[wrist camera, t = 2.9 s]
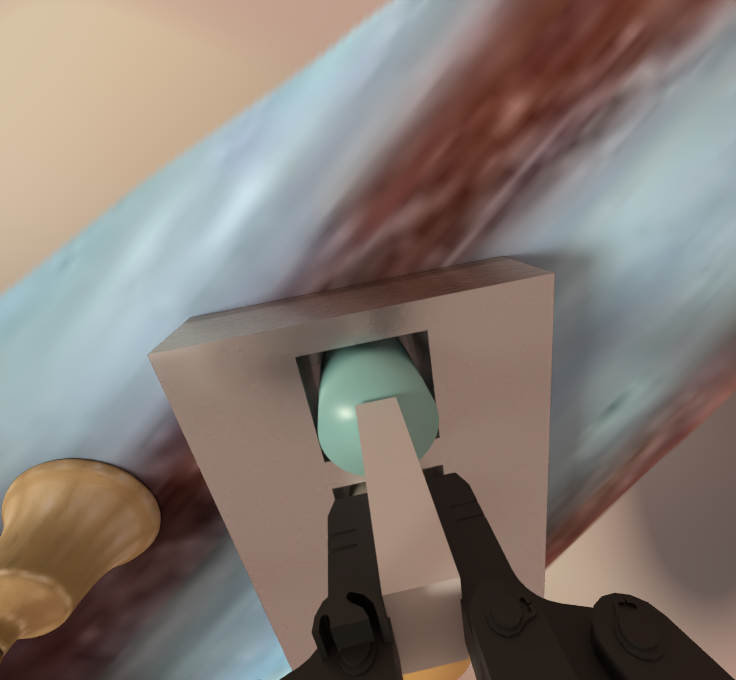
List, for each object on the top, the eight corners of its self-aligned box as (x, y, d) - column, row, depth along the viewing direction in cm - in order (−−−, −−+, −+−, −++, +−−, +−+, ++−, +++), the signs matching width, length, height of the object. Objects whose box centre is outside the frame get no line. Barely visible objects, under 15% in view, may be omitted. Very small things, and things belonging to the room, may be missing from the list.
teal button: (330, 421, 18) (332, 487, 14) (309, 340, 16) (304, 388, 12) (417, 403, 18) (444, 462, 14) (405, 321, 17) (432, 362, 12)
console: (298, 597, 26) (293, 673, 22) (189, 317, 17) (147, 354, 13) (509, 548, 26) (543, 613, 22) (501, 256, 18) (554, 272, 14)
